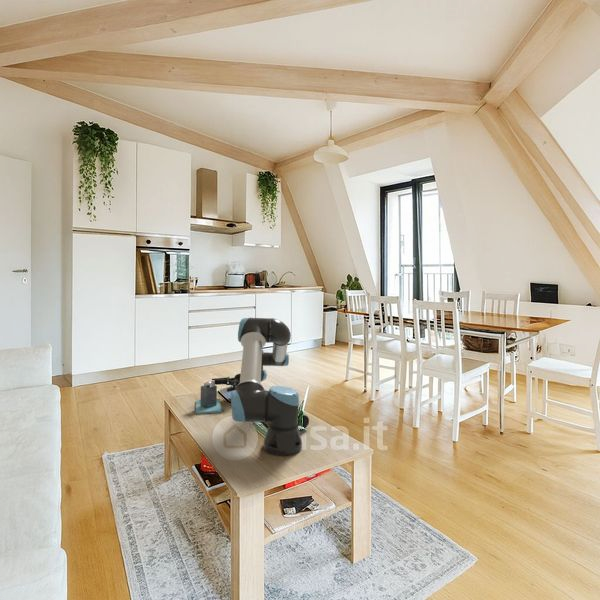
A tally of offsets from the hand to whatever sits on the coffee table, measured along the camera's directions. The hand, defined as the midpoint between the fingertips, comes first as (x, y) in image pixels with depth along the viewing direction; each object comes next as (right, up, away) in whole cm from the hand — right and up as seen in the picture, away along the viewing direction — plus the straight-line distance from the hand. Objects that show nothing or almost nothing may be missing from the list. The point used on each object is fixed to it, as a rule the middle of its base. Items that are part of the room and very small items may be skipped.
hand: (212, 388), depth 188 cm
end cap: (+43, -12, -21) cm, 49 cm away
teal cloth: (-2, -9, -1) cm, 9 cm away
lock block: (-2, -8, -2) cm, 9 cm away
